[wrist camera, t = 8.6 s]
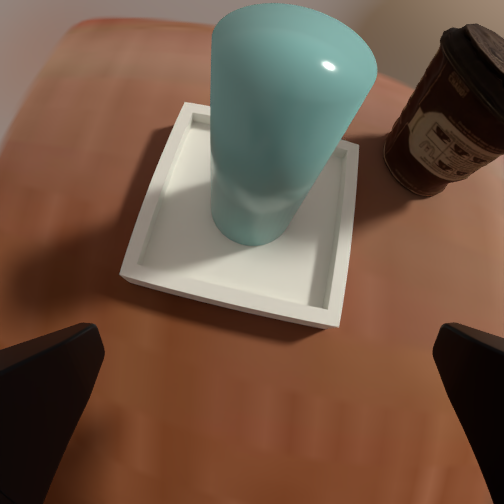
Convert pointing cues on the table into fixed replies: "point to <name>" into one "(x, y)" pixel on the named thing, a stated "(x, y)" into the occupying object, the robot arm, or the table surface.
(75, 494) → the table surface
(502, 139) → the coffee cup
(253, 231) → the teal cylinder
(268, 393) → the table surface
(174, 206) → the tray
